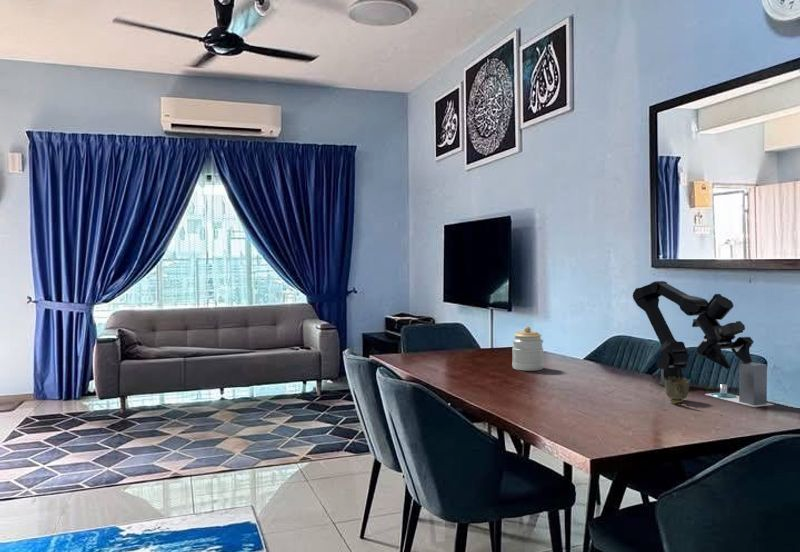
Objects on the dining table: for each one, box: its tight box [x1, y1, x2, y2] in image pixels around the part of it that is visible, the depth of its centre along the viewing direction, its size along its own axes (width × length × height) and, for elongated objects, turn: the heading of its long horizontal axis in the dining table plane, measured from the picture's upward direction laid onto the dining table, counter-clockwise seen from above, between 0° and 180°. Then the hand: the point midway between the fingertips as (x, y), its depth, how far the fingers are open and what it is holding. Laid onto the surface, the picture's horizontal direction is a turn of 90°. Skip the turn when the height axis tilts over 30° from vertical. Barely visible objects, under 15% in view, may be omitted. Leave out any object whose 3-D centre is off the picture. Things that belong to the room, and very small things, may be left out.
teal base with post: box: [710, 383, 737, 399], centre depth 200 cm, size 7×7×4 cm
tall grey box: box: [738, 361, 768, 405], centre depth 189 cm, size 5×5×12 cm
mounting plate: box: [704, 392, 775, 408], centre depth 194 cm, size 19×8×1 cm, turn 19°
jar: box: [511, 326, 544, 372], centre depth 259 cm, size 13×13×18 cm
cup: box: [664, 376, 691, 406], centre depth 193 cm, size 8×7×8 cm
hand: (740, 367), depth 193 cm, fingers open, 9 cm apart
